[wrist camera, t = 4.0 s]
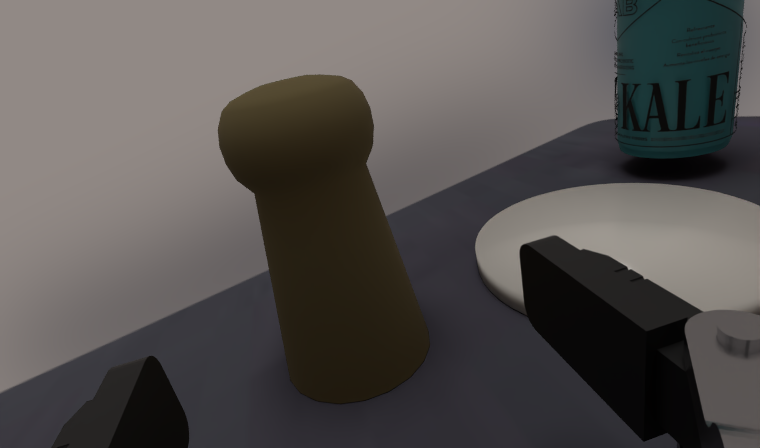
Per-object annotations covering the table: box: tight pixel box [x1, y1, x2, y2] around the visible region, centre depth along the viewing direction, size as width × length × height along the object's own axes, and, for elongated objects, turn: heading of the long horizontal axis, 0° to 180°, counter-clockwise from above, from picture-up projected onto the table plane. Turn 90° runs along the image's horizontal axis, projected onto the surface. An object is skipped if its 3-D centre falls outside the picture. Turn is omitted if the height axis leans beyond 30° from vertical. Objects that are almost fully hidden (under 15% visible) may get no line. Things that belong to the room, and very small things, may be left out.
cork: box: [218, 75, 430, 404], centre depth 17 cm, size 6×6×11 cm
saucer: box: [475, 183, 760, 315], centre depth 21 cm, size 13×13×1 cm
